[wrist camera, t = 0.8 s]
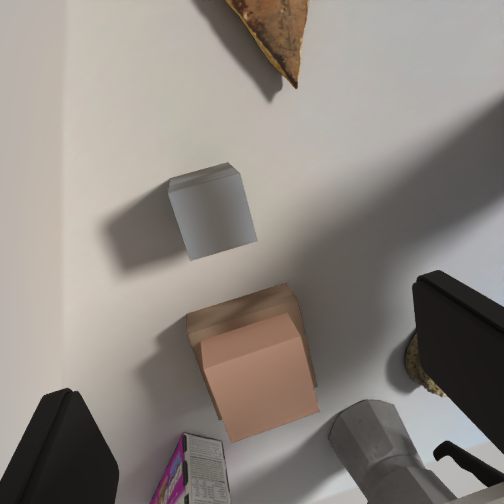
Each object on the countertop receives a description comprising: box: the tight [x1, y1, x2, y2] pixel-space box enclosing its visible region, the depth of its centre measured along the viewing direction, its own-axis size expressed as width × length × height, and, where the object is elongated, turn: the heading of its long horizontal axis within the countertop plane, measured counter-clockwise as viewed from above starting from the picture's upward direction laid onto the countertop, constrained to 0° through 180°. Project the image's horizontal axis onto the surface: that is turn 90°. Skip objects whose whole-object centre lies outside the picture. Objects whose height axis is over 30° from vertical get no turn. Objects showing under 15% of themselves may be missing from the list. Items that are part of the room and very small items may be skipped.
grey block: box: [168, 162, 257, 261], centre depth 29 cm, size 5×5×7 cm
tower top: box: [201, 312, 320, 443], centre depth 33 cm, size 8×8×4 cm
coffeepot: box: [328, 400, 504, 504], centre depth 36 cm, size 15×9×18 cm, turn 138°
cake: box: [405, 333, 447, 397], centre depth 41 cm, size 10×10×5 cm
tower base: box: [186, 283, 317, 420], centre depth 36 cm, size 10×10×4 cm
